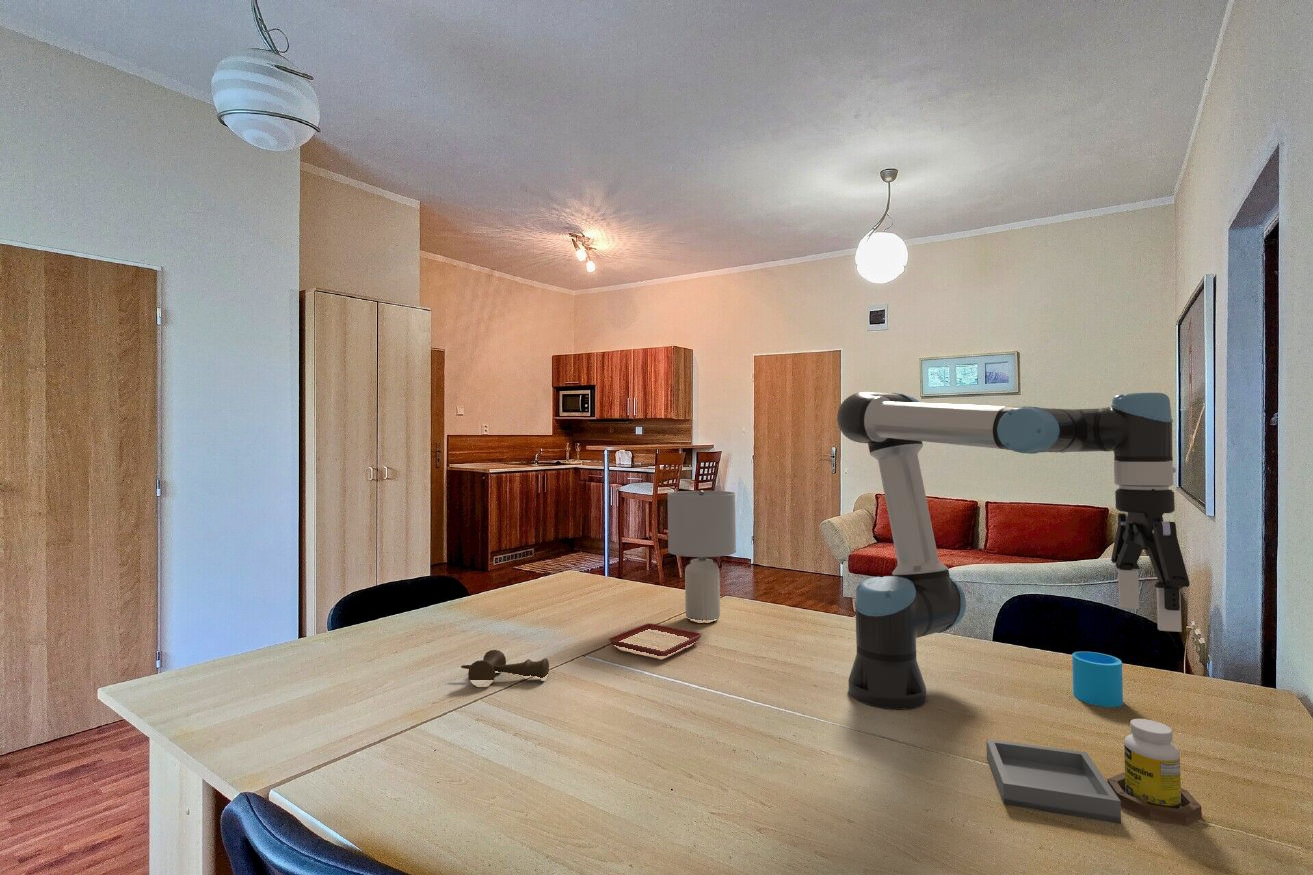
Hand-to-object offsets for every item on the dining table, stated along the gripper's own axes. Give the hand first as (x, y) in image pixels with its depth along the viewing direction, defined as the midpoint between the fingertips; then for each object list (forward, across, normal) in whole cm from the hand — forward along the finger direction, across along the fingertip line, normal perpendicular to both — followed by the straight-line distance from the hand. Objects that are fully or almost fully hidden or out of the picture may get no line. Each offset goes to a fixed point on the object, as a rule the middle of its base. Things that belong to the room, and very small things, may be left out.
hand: (1148, 618), depth 98 cm
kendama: (+23, +3, +121) cm, 123 cm away
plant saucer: (+23, +34, +94) cm, 103 cm away
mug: (+23, +28, -1) cm, 37 cm away
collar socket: (+23, -14, +6) cm, 27 cm away
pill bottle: (+23, -14, +6) cm, 27 cm away
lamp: (+23, +61, +88) cm, 110 cm away
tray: (+23, -13, +18) cm, 32 cm away
